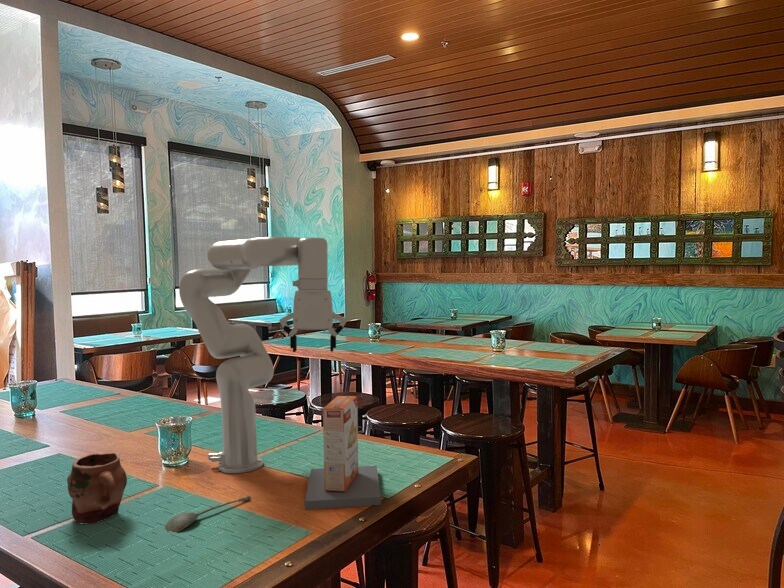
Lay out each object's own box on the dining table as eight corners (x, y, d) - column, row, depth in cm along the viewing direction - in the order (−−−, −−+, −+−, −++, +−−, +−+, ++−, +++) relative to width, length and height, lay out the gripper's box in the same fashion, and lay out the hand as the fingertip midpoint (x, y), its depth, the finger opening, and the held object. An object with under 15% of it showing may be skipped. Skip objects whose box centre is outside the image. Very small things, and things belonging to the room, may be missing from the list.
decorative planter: (146, 519, 136) (143, 460, 136) (92, 539, 127) (89, 475, 126) (105, 499, 149) (102, 445, 148) (54, 516, 139) (50, 458, 139)
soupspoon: (158, 532, 132) (172, 541, 128) (157, 517, 132) (171, 527, 127) (242, 497, 148) (257, 505, 144) (241, 485, 148) (257, 492, 143)
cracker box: (347, 492, 143) (344, 408, 142) (323, 491, 144) (320, 407, 143) (360, 472, 157) (358, 395, 156) (338, 471, 158) (336, 394, 157)
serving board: (305, 509, 139) (304, 501, 139) (311, 476, 161) (310, 468, 161) (381, 505, 140) (380, 496, 140) (376, 472, 162) (376, 465, 162)
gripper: (277, 286, 147) (278, 353, 149) (346, 286, 149) (346, 353, 150) (280, 284, 155) (281, 349, 156) (346, 284, 156) (346, 348, 157)
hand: (313, 351), depth 153 cm, fingers open, 9 cm apart
